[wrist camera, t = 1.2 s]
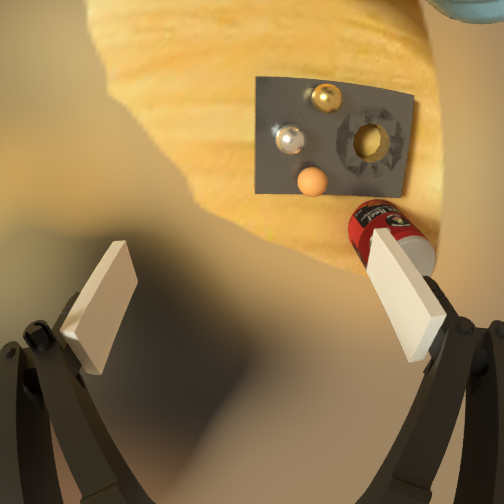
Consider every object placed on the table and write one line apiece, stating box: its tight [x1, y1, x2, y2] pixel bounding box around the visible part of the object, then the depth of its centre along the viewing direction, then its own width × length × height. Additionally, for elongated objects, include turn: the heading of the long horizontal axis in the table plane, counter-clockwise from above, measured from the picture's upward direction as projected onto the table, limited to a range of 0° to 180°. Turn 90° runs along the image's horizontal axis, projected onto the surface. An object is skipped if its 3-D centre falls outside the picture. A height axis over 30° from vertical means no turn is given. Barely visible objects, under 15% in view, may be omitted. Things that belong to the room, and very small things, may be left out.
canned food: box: [348, 199, 436, 277], centre depth 34 cm, size 8×8×11 cm
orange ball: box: [298, 167, 327, 197], centre depth 31 cm, size 3×3×3 cm
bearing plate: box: [254, 76, 414, 198], centre depth 31 cm, size 13×18×2 cm
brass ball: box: [311, 84, 343, 114], centre depth 26 cm, size 3×3×3 cm
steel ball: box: [275, 124, 307, 155], centre depth 28 cm, size 3×3×3 cm
